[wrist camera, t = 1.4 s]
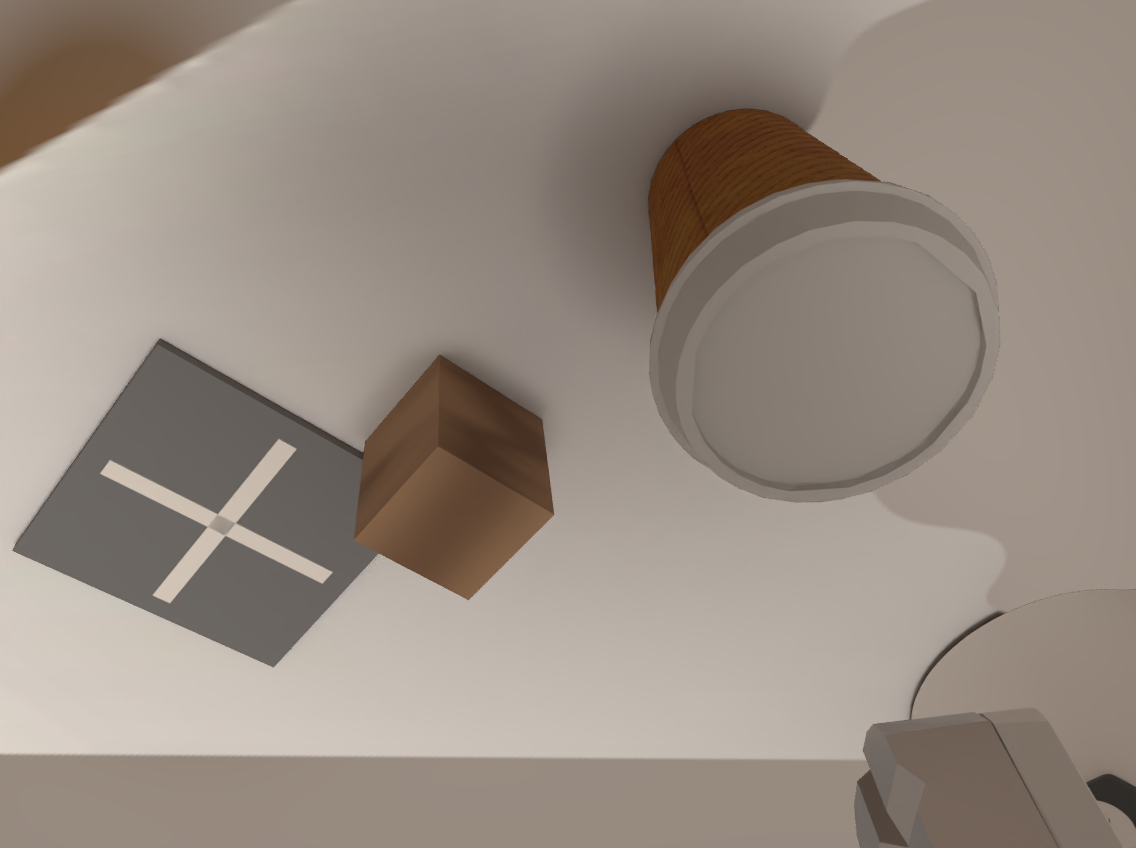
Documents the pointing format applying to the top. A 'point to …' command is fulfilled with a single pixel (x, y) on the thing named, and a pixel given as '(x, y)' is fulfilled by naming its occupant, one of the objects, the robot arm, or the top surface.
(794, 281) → the disposable coffee cup
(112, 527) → the pad
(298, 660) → the top surface
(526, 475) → the walnut block
